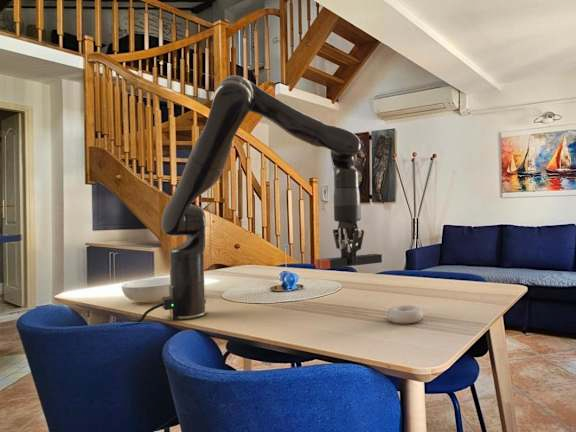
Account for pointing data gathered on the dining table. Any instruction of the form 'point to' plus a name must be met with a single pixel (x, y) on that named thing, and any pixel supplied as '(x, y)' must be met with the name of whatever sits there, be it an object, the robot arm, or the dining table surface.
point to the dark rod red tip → (343, 261)
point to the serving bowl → (147, 289)
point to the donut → (404, 314)
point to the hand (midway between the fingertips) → (348, 264)
